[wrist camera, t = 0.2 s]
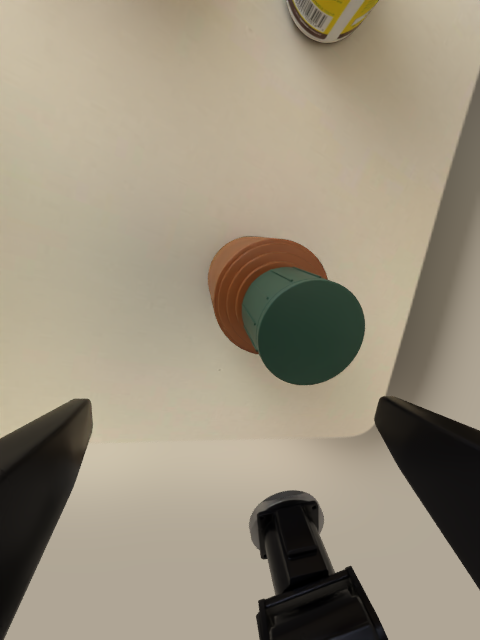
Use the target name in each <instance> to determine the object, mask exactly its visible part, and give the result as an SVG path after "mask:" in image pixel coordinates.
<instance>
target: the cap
mask: <svg viewBox="0 0 480 640" xmlns="http://www.w3.org/2000/svg"><path fill="white" fill-rule="evenodd" d="M321 277H322V276H319V275H316V274H313V273H311V272H308V271H305V270H302V269H299V268H296V267H293V268H292V267H279V268H275V269H270V270H269V271H267V272H265V273H263V274H262V275H260V276H259V277H258V278H256V279H255V280H254V281H253V283H251V285H250V286H249V288H248V290H247V291H246V293H245V296H244V299H243V303H242V319H243V323H244V328H245V330H246V332H247V334H248V336H249V338H250V340H251V342H252V344H253V346H254V348H255V350H256V352H258V353H259V355H260V357H261V359H262V361H263V362H264V364H265V366H266V367H267V368H268V369H269V371H270V372H271V373H272V374H274V375H275V376H276V377H278V378H279V379H281V380H283V381H285V382H288V383H291V384H296V385H313V384H318V383H321V382H324V381H327V380H329V379H331V378H333V377H335V376H336V375H338V374H339V373H340V372H342V371H343V370H344V369H345V368H346V367H347V366H348V365H349V364H350V363H351V362H352V361H353V359H354V358H355V356H356V355H357V353H358V351H359V349H360V347H361V344H362V341H363V337H364V331H365V320H364V314H363V311H362V308H361V306H360V303H359V302H358V300H357V299H356V297H355V296H354V295H353V294H352V293H351V292H350V291H349V290H348V289H347V288H345V287H343V286H342V285H340V284H337V283H335V282H332V281H330V280H327V279H324V278H321Z"/></svg>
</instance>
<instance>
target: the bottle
mask: <svg viewBox="0 0 480 640" xmlns="http://www.w3.org/2000/svg"><path fill="white" fill-rule="evenodd" d="M279 267H292V268H293V267H296V268H299V269H302V270H305V271H308V272H311V273H313V274H316V275H319V276H322V277H321V278H324V279H327V280H328V278H327V275H326V272H325V270H324V268H323V266H322V264H321V263H320V261H319V260H318V258H317V257H316V256H315V255H314V254H313V253H312V252H311V251H309V250H308V249H307V248H305V247H304V246H302V245H300V244H298V243H296V242H293V241H289V240H285V239H276V238H264V237H252V236H251V237H241V238H238V239H235V240H233V241H231V242H229V243H227V244H226V245H225V246H223V247H222V248H221V249H220V250H219V251H218V252H217V254H216V255H215V257H214V259H213V260H212V262H211V265H210V268H209V273H208V286H209V291H210V295H211V299H212V303H213V308H214V312H215V316H216V319H217V322H218V324H219V326H220V328H221V330H222V331H223V333H224V334H225V335H226V336H227V338H228V339H229V340H230V341H231V342H233V343H234V344H235V345H236V346H238V347H240V348H241V349H243V350H246V351H248V352H251V353H254V354H259V353H258V352H256V350H255V348H254V346H253V344H252V342H251V340H250V338H249V336H248V334H247V332H246V330H245V328H244V323H243V319H242V303H243V299H244V296H245V293H246V291H247V290H248V288H249V286H250V285H251V283H253V281H254V280H255V279H256V278H258V277H259V276H260V275H262V274H263V273H265V272H267V271H269V270H270V269H275V268H279Z"/></svg>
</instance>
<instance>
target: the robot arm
mask: <svg viewBox="0 0 480 640" xmlns="http://www.w3.org/2000/svg"><path fill="white" fill-rule="evenodd" d="M374 421H375V425H376V427H377V428H378V431H379V432H380V434H381V436H382V438H383V440H384V442H385V443H386V445H387V447H388V449H389V451H390V452H391V454H392V456H393V458H394V460H395V462H396V463H397V465H398V467H399V468H400V470H401V472H402V473H403V475H404V476H405V478H406V479H407V481H408V482H409V484H410V485H411V487H412V488H413V490H414V491H415V493H416V494H417V496H418V497H419V499H420V501H421V502H422V503H423V505H424V507H425V508H426V510H427V511H428V512H429V514H430V515H431V517H432V519H433V520H434V522H435V523H436V525H437V526H438V528H439V529H440V530H441V532H442V534H443V535H444V537H445V538H446V540H447V541H448V543H449V544H450V545H451V547H452V549H453V550H454V552H455V553H456V554H457V556H458V558H459V559H460V561H461V562H462V564H463V565H464V567H465V568H466V570H467V571H468V573H469V574H470V576H471V577H472V579H473V580H474V582H475V583H476V585H477V587H478V588H479V589H480V431H479V430H477V429H474V428H472V427H469V426H467V425H464V424H462V423H459V422H457V421H454V420H452V419H449V418H447V417H444V416H442V415H439V414H436V413H434V412H432V411H429V410H427V409H424V408H422V407H419V406H416V405H414V404H412V403H409V402H407V401H404V400H402V399H399V398H396V397H393V396H383V397H381V398H380V399H379V402H378V406H377V410H376V413H375V418H374ZM92 428H93V420H92V406H91V401H90V400H89V399H73V400H71V401H69V402H67V403H65V404H63V405H62V406H60V407H58V408H56V409H54V410H52V411H50V412H49V413H47V414H45V415H43V416H41V417H39V418H38V419H36V420H34V421H32V422H30V423H28V424H26V425H25V426H23V427H21V428H19V429H17V430H15V431H14V432H12V433H10V434H8V435H6V436H4V437H2V438H1V439H0V640H4V638H5V636H6V634H7V631H8V629H9V627H10V625H11V623H12V620H13V618H14V616H15V614H16V612H17V609H18V607H19V605H20V603H21V601H22V599H23V596H24V594H25V592H26V590H27V588H28V585H29V583H30V581H31V579H32V576H33V574H34V572H35V570H36V568H37V565H38V564H39V561H40V559H41V557H42V555H43V553H44V550H45V548H46V546H47V544H48V542H49V539H50V537H51V535H52V533H53V530H54V528H55V526H56V524H57V522H58V520H59V518H60V515H61V513H62V511H63V509H64V507H65V505H66V502H67V500H68V498H69V496H70V493H71V491H72V489H73V487H74V484H75V481H76V478H77V475H78V472H79V469H80V466H81V463H82V460H83V457H84V454H85V451H86V448H87V445H88V442H89V439H90V436H91V433H92ZM257 525H258V536H259V546H260V555H261V558H262V559H268V563H269V567H270V572H271V577H272V581H273V586H274V590H275V595H276V596H273V597H271V598H268V599H261V600H259V601H258V603H259V613H258V614H257V615H256V619H257V624H258V631H259V638H260V640H388V638H387V636H386V634H385V631H384V629H383V627H382V624H381V623H380V621H379V618H378V616H377V614H376V612H375V610H374V608H373V607H372V605H371V603H370V601H369V599H368V597H367V595H366V593H365V591H364V590H363V588H362V586H361V584H360V582H359V580H358V578H357V576H356V574H355V573H354V570H353V569H352V567H351V566H349V567H346V568H345V570H342V571H340V572H337V573H335V571H334V569H333V567H332V564H331V562H330V559H329V557H328V554H327V552H326V549H325V547H324V545H323V542H322V540H321V537H320V535H319V506H318V503H317V502H316V501H315V500H313V501H308V502H303V503H299V504H294V505H289V506H284V507H280V508H275V509H270V510H266V511H261V512H259V513H258V514H257Z"/></svg>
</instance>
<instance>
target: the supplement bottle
mask: <svg viewBox="0 0 480 640" xmlns="http://www.w3.org/2000/svg"><path fill="white" fill-rule="evenodd" d="M378 1H379V0H286V2H287V6H288V9H289V12H290V14H291V17H292V19H293V20H294V22H295V24H296V25H297V27H298V28H299V29H300V30H301V31H302V32H303V33H304V34H305V35H306V36H308V37H309V38H311V39H313V40H315V41H318V42H322V43H331V42H336V41H339V40H341V39H344V38H345V37H347V36H348V35H350V34H351V33H352V32H353V31H354V30H355V29H356V28H357V27H358V26H359V25H360V24H361V22H362V21H363V20H364V19H365V17H366V16H367V15H368V14H369V12H370V11H371V10H372V9H373V7H374V6H375V5H376V3H377V2H378Z"/></svg>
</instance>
